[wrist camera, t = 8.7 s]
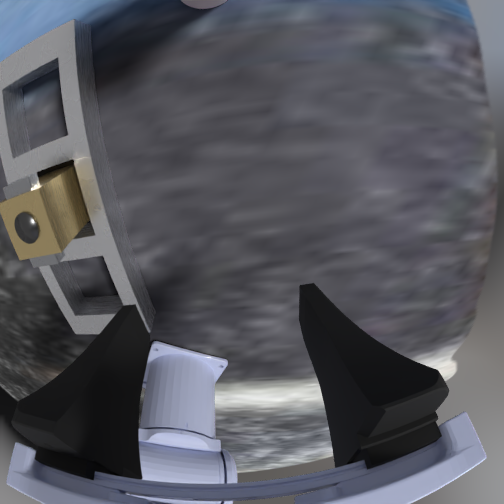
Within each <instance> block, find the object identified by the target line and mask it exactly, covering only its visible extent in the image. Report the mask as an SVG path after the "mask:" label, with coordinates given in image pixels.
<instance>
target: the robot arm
mask: <svg viewBox="0 0 504 504" xmlns="http://www.w3.org/2000/svg"><path fill="white" fill-rule="evenodd" d="M299 321H300V325H301V330H302V334H303V339H304V342H305V345H306V347H307V350H308V353H309V356H310V359H311V361H312V364H313V367H314V370H315V372H316V375H317V378H318V381H319V384H320V388H321V392H322V396H323V401H324V405H325V410H326V415H327V420H328V425H329V430H330V436H331V441H332V448H333V455H334V462H335V468H333V469H329V470H325V471H320V472H315V473H311V474H306V475H300V476H294V477H288V478H281V479H274V480H266V481H256V482H244V483H237V469H236V464H235V460H234V458H233V457H232V455H231V454H230V453H229V452H228V451H227V450H226V449H221V443H220V440H215V382H216V381H217V379H218V378H219V377H220V375H221V374H222V372H223V371H224V369H225V368H226V366H227V365H228V361H227V360H226V359H223V358H219V357H214V356H210V355H206V354H202V353H198V352H194V351H191V350H187V349H183V348H179V347H176V346H172V345H169V344H165V343H162V342H159V341H154V342H153V343H152V346H151V349H150V352H149V344H150V335H149V333H148V330H147V328H146V326H145V324H144V322H143V320H142V318H141V316H140V313H139V311H138V309H137V307H136V304H134V305H124V306H123V307H122V308H121V309H120V310H119V311H118V312H117V313H116V315H115V316H114V317H113V318H112V319H111V321H110V322H109V323H108V324H107V325H106V327H105V328H104V329H103V330H102V331H101V333H100V334H99V335H98V336H97V337H96V339H95V340H94V341H93V342H92V343H91V344H90V345H89V346H88V348H87V349H86V350H85V351H84V352H83V353H82V354H81V355H80V356H79V357H78V358H77V359H76V360H75V361H74V362H73V363H72V364H71V365H70V366H69V367H68V368H67V369H65V370H64V371H63V372H62V373H60V374H59V375H58V376H57V377H56V378H54V379H53V380H52V381H50V382H49V383H48V384H46V385H45V386H43V387H42V388H40V389H39V390H37V391H36V392H34V393H32V394H31V395H29V396H27V397H25V398H23V399H22V400H20V401H19V402H18V405H17V407H16V410H15V413H14V416H13V419H12V425H13V427H14V428H15V429H16V430H17V431H18V432H20V433H21V434H22V435H23V436H25V437H26V438H27V439H29V440H30V441H32V442H33V443H34V444H36V445H37V446H38V447H37V451H36V450H34V449H32V448H30V447H28V446H25V445H23V444H20V443H18V442H16V443H15V446H14V450H13V454H12V458H11V463H10V468H9V472H8V476H7V482H6V483H7V484H8V485H9V486H11V487H13V488H15V489H16V490H18V491H20V492H22V493H23V494H26V495H27V496H29V497H31V498H33V499H35V500H37V501H39V502H41V503H43V504H233V501H242V500H255V499H265V498H274V497H282V496H289V495H295V494H301V493H306V492H310V493H306V494H302V495H298V496H296V497H295V498H294V500H295V503H294V504H411V503H413V502H415V501H417V500H419V499H421V498H423V497H425V496H427V495H428V494H431V493H432V492H434V491H436V490H438V489H440V488H441V487H443V486H445V485H446V484H448V483H450V482H452V481H453V480H455V479H457V478H458V477H460V476H461V475H463V474H464V473H466V472H468V471H469V470H471V469H472V468H473V467H475V466H476V465H478V464H479V463H481V462H482V461H484V460H485V459H486V457H487V456H486V454H485V451H484V449H483V447H482V444H481V442H480V440H479V438H478V436H477V433H476V431H475V429H474V427H473V425H472V423H471V421H470V418H469V417H468V414H467V412H463V413H461V414H459V415H457V416H455V417H454V418H452V419H450V420H448V421H446V422H444V423H443V424H441V425H440V426H437V424H436V421H437V420H438V416H437V414H436V412H435V411H436V410H437V409H438V407H439V406H440V405H441V404H442V403H443V401H444V400H445V398H446V397H447V396H448V393H449V389H448V387H447V385H446V383H445V381H444V379H443V377H442V376H441V374H440V373H439V371H438V370H436V369H433V368H431V367H428V366H425V365H423V364H420V363H417V362H415V361H413V360H411V359H409V358H407V357H404V356H402V355H400V354H399V353H397V352H395V351H393V350H392V349H390V348H388V347H386V346H385V345H383V344H381V343H380V342H378V341H377V340H375V339H374V338H372V337H371V336H370V335H368V334H367V333H366V332H364V331H363V330H362V329H360V328H359V327H358V326H357V325H356V324H354V323H353V322H352V321H351V320H350V319H349V318H348V317H346V316H345V315H344V314H343V313H342V312H341V311H340V310H339V309H338V308H337V307H336V306H335V305H334V304H333V303H332V302H331V301H330V300H329V299H328V298H327V297H326V296H325V295H324V294H323V292H322V291H321V290H320V289H319V288H318V287H317V286H316V285H315V284H314V283H312V284H305V285H300V297H299ZM148 355H149V356H148ZM142 388H145V395H144V402H143V408H142V415H141V422H140V428H139V403H140V396H141V390H142ZM316 490H317V491H316ZM311 491H313V492H311Z"/></svg>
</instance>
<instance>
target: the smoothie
mask: <svg viewBox="0 0 504 504" xmlns="http://www.w3.org/2000/svg"><path fill="white" fill-rule="evenodd" d="M181 1H182V2H183V3H184V4H186V5H188V6H190V7H193V8H197V9H208V8H213V7H217V6H219V5H221V4H223V3H225V2H226V1H228V0H181Z"/></svg>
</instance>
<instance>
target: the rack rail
mask: <svg viewBox="0 0 504 504" xmlns="http://www.w3.org/2000/svg"><path fill="white" fill-rule="evenodd" d="M57 68H59V73H60V83H61V92H62V100H63V107H64V113H65V119H66V125H67V131H68V135H67V136H65V137H62V138H60V139H57V140H54V141H52V142H49V143H47V144H45V145H42V146H40V147H38V148H35V149H33V150H32V149H31V144H30V139H29V134H28V129H27V123H26V116H25V109H24V102H23V93H22V87H23V86H25V85H27V84H28V83H30V82H32V81H34V80H36V79H37V78H39V77H41V76H43V75H45V74H47V73H49V72H51V71H53V70H55V69H57ZM0 155H1V159H2V164H3V168H4V172H5V176H6V179H7V183H8V184H10V183H12V182H14V181H16V180H18V179H21V178H23V177H25V176H28V175H30V174H33V173H35V172H38V171H41V170H44V169H46V168H49V167H52V166H55V165H57V164H60V163H63V162H66V161H69V160H72V159H74V164H75V168H76V172H77V176H78V179H79V183H80V187H81V191H82V194H83V198H84V201H85V204H86V208H87V211H88V214H89V217H90V220H91V223H89V224H86V225H85V226H84V227H83V228H82V229H81V230H80V231H79V232H78V234H77V235H76V236H75V237H74V238H73V239H72V241H71V242H70V243H69V244H68V245H67V247H66V248H65V249H64V250H63V251H64V253H65V256H64V257H63V259H62V260H61V261H60V262H59V264H54V265H47V266H41V267H39V269H40V271H41V273H42V275H43V277H44V279H45V281H46V283H47V285H48V287H49V289H50V291H51V293H52V294H53V296H54V298H55V300H56V302H57V304H58V305H59V307H60V309H61V311H62V312H63V314H64V316H65V318H66V319H67V321H68V323H69V324H70V326H71V327H72V329H73V331H74V332H75V334H100V333H101V331H102V330H103V329H104V328H105V327H106V325H107V324H108V323H109V322H110V321H111V319H112V318H113V317H114V316H115V315H116V313H117V312H118V311H119V310H120V309H121V308H122V307H123V306H124V305H134V304H136V307H137V309H138V311H139V313H140V316H141V318H142V320H143V322H144V324H145V326H146V328H147V330H148V332H151V330H152V325H153V321H154V317H155V313H156V312H155V309H154V307H153V304H152V301H151V299H150V296H149V294H148V291H147V288H146V286H145V283H144V280H143V277H142V275H141V272H140V269H139V266H138V263H137V260H136V257H135V254H134V251H133V248H132V245H131V242H130V239H129V236H128V232H127V229H126V226H125V222H124V219H123V215H122V212H121V208H120V205H119V201H118V197H117V193H116V189H115V186H114V182H113V177H112V173H111V169H110V165H109V160H108V155H107V151H106V146H105V141H104V136H103V130H102V125H101V119H100V113H99V106H98V99H97V92H96V84H95V76H94V66H93V54H92V39H91V26H90V25H88V24H86V23H83V22H81V21H78V20H75V19H73V20H71V21H69V22H67V23H65V24H63V25H61V26H59V27H57V28H55V29H53V30H51V31H49V32H48V33H46V34H44V35H42V36H40V37H39V38H37V39H35V40H34V41H32V42H30V43H29V44H27V45H25V46H24V47H22V48H21V49H19V50H18V51H16V52H15V53H13V54H12V55H10V56H9V57H7V58H6V59H4V60H3V61H2V62H0ZM37 175H38V174H37ZM96 256H103V257H104V260H105V262H106V265H107V267H108V270H109V272H110V275H111V277H112V280H113V282H114V284H115V287H116V289H117V291H118V294H119V295H112V296H99V297H87V298H85V297H84V295H83V293H82V291H81V289H80V287H79V285H78V283H77V281H76V279H75V276H74V274H73V272H72V270H71V268H70V265H69V263H68V261H69V260H76V259H83V258H89V257H96Z"/></svg>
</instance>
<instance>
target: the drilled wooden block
mask: <svg viewBox="0 0 504 504" xmlns="http://www.w3.org/2000/svg"><path fill="white" fill-rule="evenodd" d="M3 190H4V193H5V196H6V199H5V200H3V201H2V202H0V212H1V215H2V218H3V221H4V223H5V226H6V229H7V231H8V234H9V236H10V239H11V241H12V243H13V246H14V248H15V250H16V253H17V255H18V257H19V259H20V260H24V259H30V261H31V263H32V265H33V268H35V267H41V266H47V265H54V264H59V262H60V261H61V260H62V259H63V257H64V256H65V253H64V251H63V250H64V249H65V248H66V247H67V245H68V244H69V243H70V242H71V241H72V239H73V238H74V237H75V236H76V235H77V234H78V232H79V231H80V230H81V229H82V228H83V227H84V226H85V225H86V223H87V222H88V221H89V220H90V217H89V214H88V211H87V208H86V204H85V201H84V198H83V194H82V191H81V187H80V183H79V179H78V176H77V172H76V168H75V164H72V165H69V166H66V167H63V168H60V169H57V170H54V171H51V172H48V173H46V174H44V175H42V176H40V177H39V178H38V175H37V172H35V173H33V174H30V175H28V176H25V177H23V178H21V179H18V180H16V181H14V182H12V183H10V184H8V185H7V186H5V187H4V188H3Z"/></svg>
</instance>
